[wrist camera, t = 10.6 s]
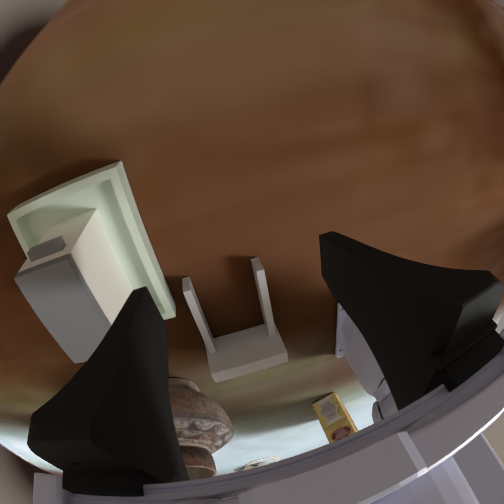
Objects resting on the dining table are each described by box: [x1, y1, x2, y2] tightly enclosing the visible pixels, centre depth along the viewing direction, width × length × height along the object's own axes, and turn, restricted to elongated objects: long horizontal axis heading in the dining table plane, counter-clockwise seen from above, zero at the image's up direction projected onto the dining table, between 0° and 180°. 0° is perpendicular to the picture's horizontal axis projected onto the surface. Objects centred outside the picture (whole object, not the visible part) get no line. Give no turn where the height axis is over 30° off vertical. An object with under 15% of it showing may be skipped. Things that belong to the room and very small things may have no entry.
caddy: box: [14, 208, 133, 364], centre depth 16 cm, size 8×4×7 cm, turn 10°
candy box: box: [312, 392, 358, 443], centre depth 34 cm, size 9×4×15 cm, turn 28°
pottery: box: [169, 378, 234, 480], centre depth 26 cm, size 11×25×12 cm, turn 134°
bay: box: [182, 257, 288, 383], centre depth 24 cm, size 9×7×4 cm
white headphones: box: [242, 457, 280, 471], centre depth 49 cm, size 9×8×4 cm
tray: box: [7, 161, 176, 320], centre depth 19 cm, size 12×9×2 cm
